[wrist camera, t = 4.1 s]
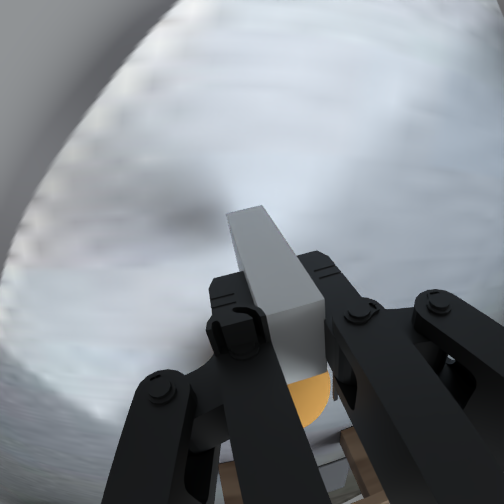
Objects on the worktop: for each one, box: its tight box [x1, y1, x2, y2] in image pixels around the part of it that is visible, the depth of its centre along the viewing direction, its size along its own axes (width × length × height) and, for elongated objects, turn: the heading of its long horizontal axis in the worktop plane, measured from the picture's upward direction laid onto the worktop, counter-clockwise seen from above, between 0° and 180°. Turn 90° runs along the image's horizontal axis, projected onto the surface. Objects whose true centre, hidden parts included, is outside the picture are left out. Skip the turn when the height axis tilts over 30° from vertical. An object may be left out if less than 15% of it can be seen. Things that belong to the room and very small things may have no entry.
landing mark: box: [318, 457, 349, 492], centre depth 34 cm, size 14×14×1 cm
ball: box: [287, 370, 330, 428], centre depth 17 cm, size 6×6×6 cm
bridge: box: [218, 426, 389, 504], centre depth 23 cm, size 3×14×9 cm, turn 100°
